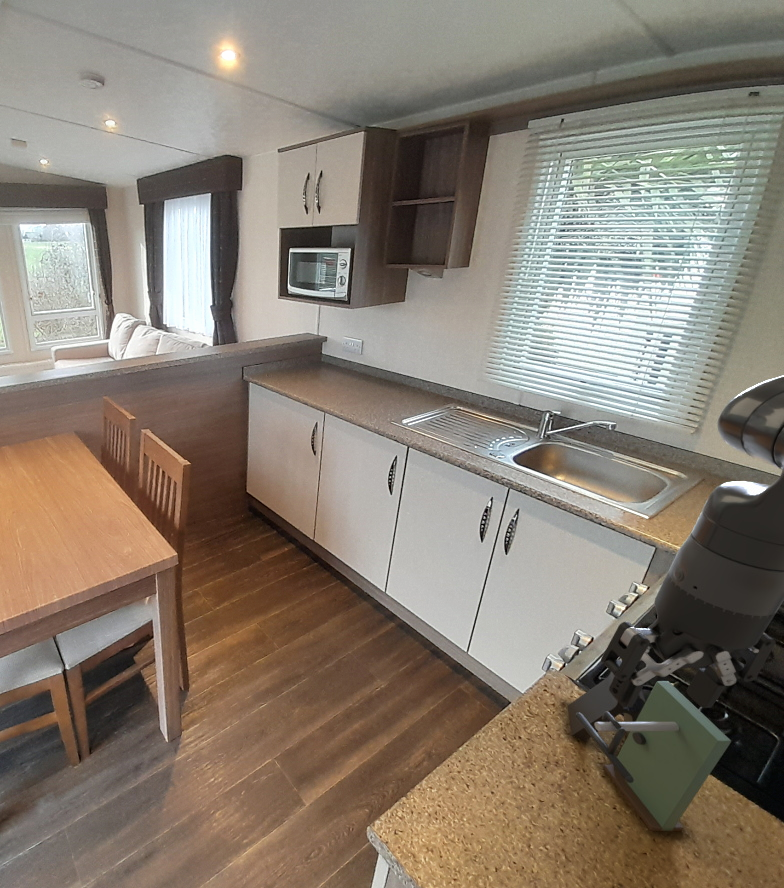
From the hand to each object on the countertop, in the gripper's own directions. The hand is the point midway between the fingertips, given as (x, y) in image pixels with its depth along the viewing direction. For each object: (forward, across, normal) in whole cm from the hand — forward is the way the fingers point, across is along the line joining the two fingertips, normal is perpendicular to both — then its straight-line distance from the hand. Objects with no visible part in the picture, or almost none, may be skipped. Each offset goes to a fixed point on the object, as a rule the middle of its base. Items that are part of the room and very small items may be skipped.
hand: (658, 700), depth 53 cm
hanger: (+12, 0, +3) cm, 12 cm away
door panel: (+23, +4, +3) cm, 24 cm away
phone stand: (+23, +11, +12) cm, 28 cm away
